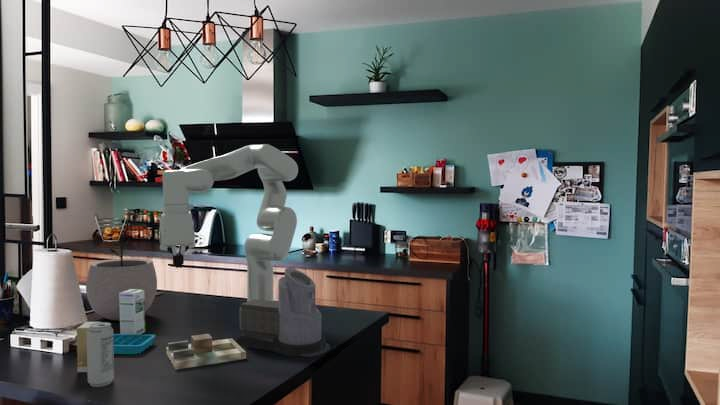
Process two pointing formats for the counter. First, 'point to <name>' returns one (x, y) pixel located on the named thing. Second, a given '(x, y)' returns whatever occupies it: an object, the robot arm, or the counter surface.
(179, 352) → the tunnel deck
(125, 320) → the syrup box
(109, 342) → the energy drink can
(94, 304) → the plant pot
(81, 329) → the skincare box
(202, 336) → the walnut block
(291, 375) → the counter surface
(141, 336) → the ice cube tray
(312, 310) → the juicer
